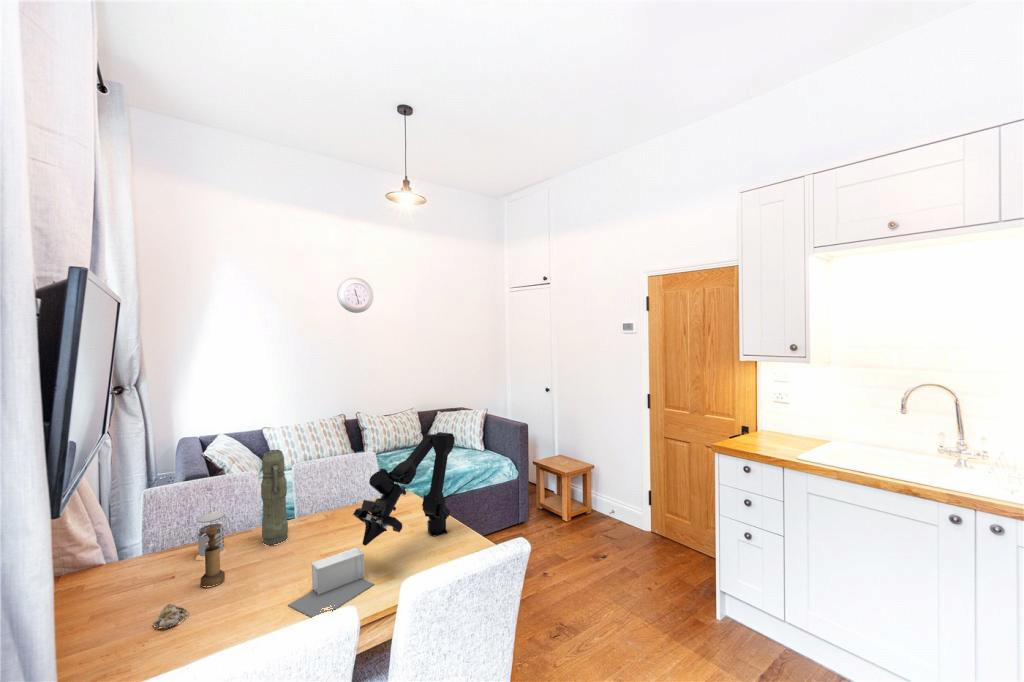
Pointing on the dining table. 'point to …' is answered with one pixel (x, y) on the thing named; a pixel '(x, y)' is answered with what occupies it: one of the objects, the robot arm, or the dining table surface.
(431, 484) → the robot arm
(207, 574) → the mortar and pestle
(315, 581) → the skincare box
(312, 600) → the mat
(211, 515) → the french press
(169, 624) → the mineral rock
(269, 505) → the thermos
